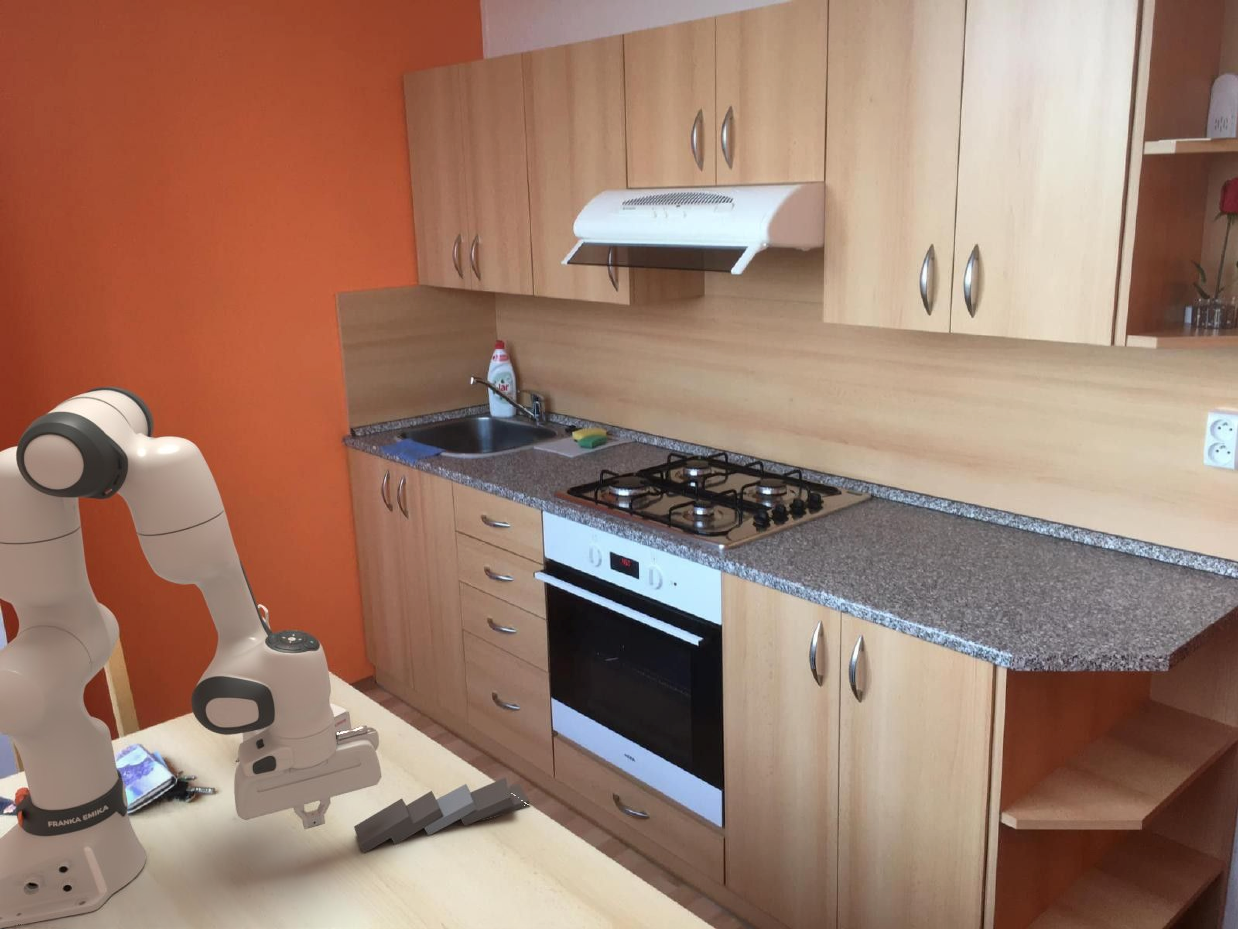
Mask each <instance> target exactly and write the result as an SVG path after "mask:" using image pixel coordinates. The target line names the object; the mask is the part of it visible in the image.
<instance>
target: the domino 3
mask: <svg viewBox="0 0 1238 929" xmlns="http://www.w3.org/2000/svg"><path fill="white" fill-rule="evenodd" d="M471 792H472V791H470V789H469V787H468V784H467V783H464V784H463V785H461V786H458V787H457V788H455V789H453V790H451V791H450V792H448V793H446V794H445V795H444V794H443V795H442V796H440V797H439V798H436V800H437V802H438V804H439V807H440V809H441V811H442V813H443V815H444V816H443V817H441V818H439V819H438V820H436V821H434V822H433V823H431V824H429V825H428V826H426V827H424V828H423V829H424V830H425V832H426V834H427V835H428V836H431V835H432V834H435V833H436V832H438V831H440V830H442V829H444V828H446V827H448V826H450V825H451V824H453V823H454V822H456V821H459V820H461V818H462V817H464V816H466V815H468V814H470V813H472V812H473V811H475V810H477V808H476V806H475V803H474V800H473V798H472V795H471Z"/></svg>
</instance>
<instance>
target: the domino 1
mask: <svg viewBox="0 0 1238 929" xmlns="http://www.w3.org/2000/svg"><path fill="white" fill-rule="evenodd" d="M406 805H407V804H406V802H405V800H404V799H403V798H400V799H398V800H396V801H395V802H393V803H391V804H390V805H388V806H386V807H385V808H383V809H381V810H380V811H378V812H376V813H375V814H374V813H373V815H371V816H370V817H368V818H366V819H365V820H363V821H361V822H359V823H357V824H356V825H354V826H353V827H354V831H355V834H356V838H357V841H358V844H359V846H360V849H361V850H362V852H363V853H364V854H365V853H368V852H369V851H371V850H372V849H374V848H376V847H377V846H379V845H381V844H382V843H384V842H386V841H387V840H390V839H392V838H391V837H392V836H394V835H396V834H398V833H399V832H401V831H403V830H404V829H406V828H408V827H409V826H411V825H413V821H412V818H411V816H410V813H409V811H408V808H407V806H406Z"/></svg>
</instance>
